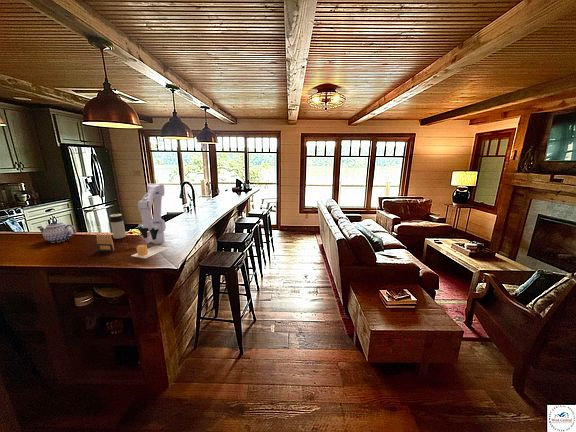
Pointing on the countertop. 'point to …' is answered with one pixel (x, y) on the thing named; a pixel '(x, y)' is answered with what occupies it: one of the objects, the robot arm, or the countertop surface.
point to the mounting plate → (151, 251)
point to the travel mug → (117, 226)
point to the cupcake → (142, 249)
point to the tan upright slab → (105, 243)
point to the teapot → (57, 232)
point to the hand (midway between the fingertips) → (150, 238)
